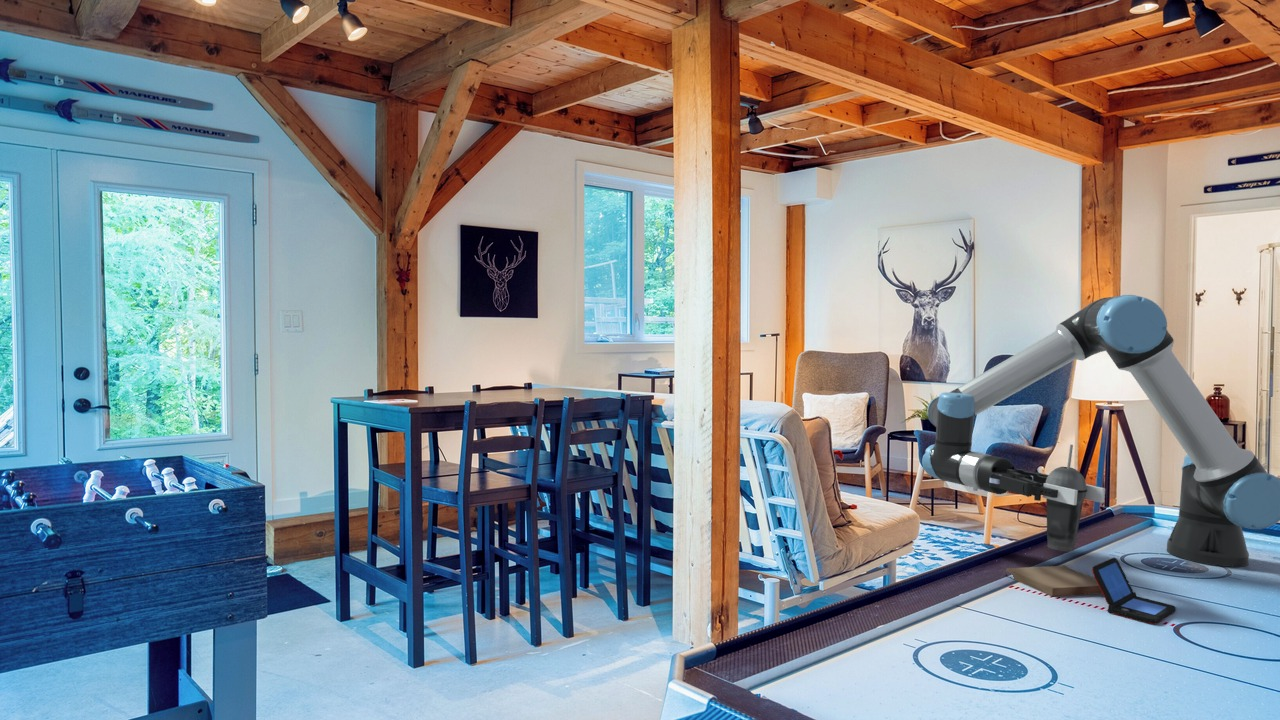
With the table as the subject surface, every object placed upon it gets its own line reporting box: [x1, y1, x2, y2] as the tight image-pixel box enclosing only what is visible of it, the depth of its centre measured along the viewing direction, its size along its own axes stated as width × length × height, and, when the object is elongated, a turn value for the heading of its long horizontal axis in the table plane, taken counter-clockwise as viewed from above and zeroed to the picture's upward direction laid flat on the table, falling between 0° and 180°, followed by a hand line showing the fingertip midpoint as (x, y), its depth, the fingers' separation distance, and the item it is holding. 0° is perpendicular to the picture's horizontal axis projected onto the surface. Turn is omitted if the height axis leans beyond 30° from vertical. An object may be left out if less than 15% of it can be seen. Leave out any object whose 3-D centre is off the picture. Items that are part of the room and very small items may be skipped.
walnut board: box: [1005, 565, 1103, 597], centre depth 161 cm, size 14×12×2 cm
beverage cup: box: [1045, 444, 1087, 552], centre depth 160 cm, size 7×7×20 cm
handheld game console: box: [1091, 557, 1177, 625], centre depth 148 cm, size 12×11×7 cm
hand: (1089, 496), depth 155 cm, fingers closed on beverage cup, 7 cm apart
